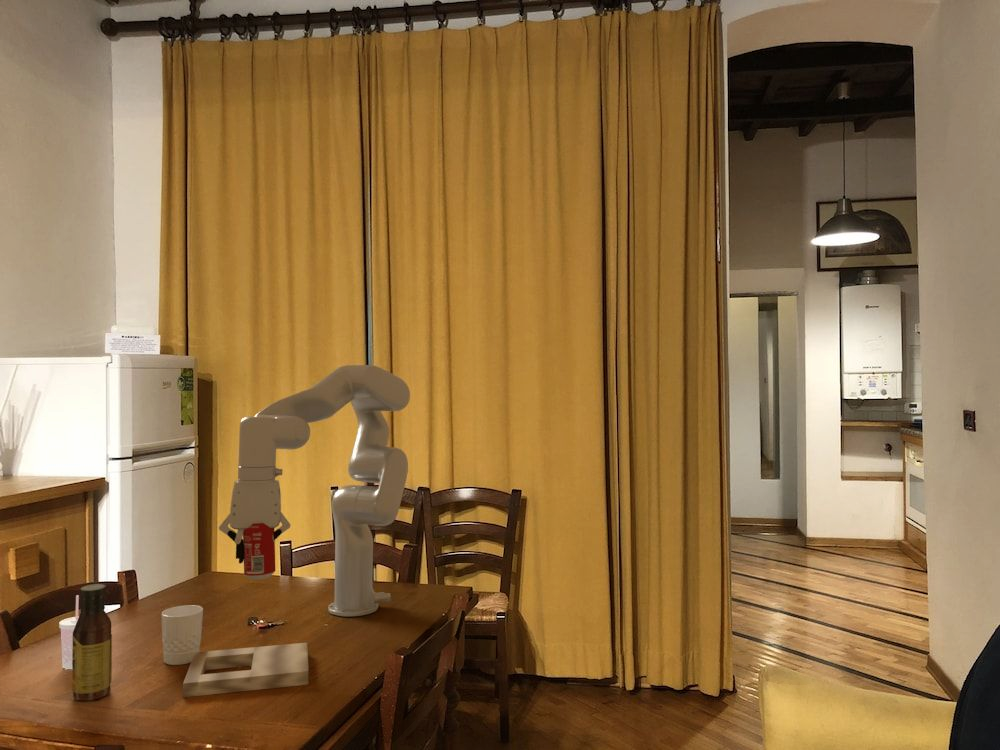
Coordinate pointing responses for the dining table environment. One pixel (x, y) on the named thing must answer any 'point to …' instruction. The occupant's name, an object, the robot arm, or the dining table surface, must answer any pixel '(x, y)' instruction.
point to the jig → (267, 670)
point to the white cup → (181, 633)
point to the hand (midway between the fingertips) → (254, 560)
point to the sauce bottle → (92, 646)
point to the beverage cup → (68, 637)
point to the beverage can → (259, 551)
